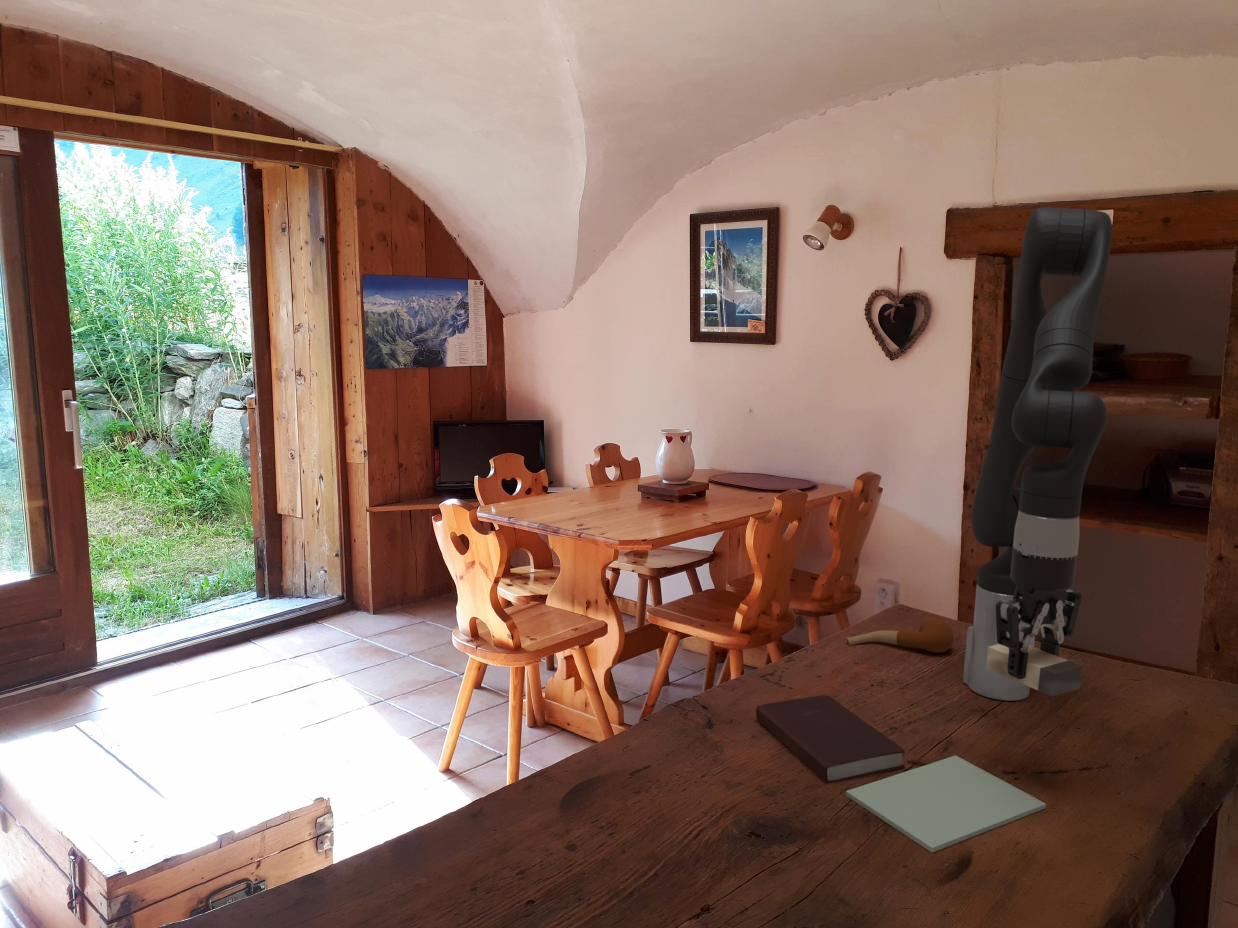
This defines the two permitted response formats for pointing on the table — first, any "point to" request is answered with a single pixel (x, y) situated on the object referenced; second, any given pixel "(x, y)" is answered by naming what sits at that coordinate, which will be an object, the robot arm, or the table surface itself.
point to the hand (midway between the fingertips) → (1032, 671)
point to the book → (830, 738)
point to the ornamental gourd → (913, 637)
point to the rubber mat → (944, 802)
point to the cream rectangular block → (1039, 670)
